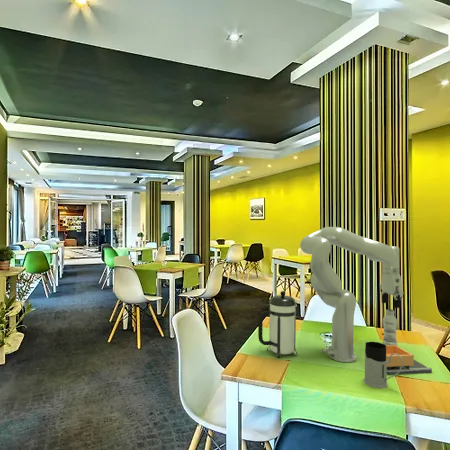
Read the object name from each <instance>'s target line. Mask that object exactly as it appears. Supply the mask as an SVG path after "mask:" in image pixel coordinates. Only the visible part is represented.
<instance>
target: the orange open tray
mask: <svg viewBox="0 0 450 450" xmlns="http://www.w3.org/2000/svg"><path fill="white" fill-rule="evenodd" d="M393 353H396V354H399V355H400V356H401V357H402V361H403V364H402V366H404V367H405V368H409V367H410V366H413V365H414V360H415V359H414V357H415V356H414V354H412V353H410V352H409V351H407V350H405V349H404V348H402V347H400V346H396V345H386V359H387V362H389V361H390V356H391V355H392V354H393ZM396 354H394V355H392V357H391V362H390V363H387V368H388V369H392V366H401V358H400V357H399V356H398V355H396Z"/></svg>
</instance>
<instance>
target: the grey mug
mask: <svg viewBox="0 0 450 450" xmlns="http://www.w3.org/2000/svg"><path fill="white" fill-rule="evenodd" d="M364 349H365V350H364V378H363V383H364V384H365V385H366V386H368V387H371V388H374V389H386V388H388V386H389V384H388V380H389V379H391V378H394V377H395V376H398V375H399V374H398V373H399V372H400V371H401V369H402V364H403V361H402V357H401V356H400V355H399V354H396V353H393V354H392V355H394V354H396V355H398V356H399V357H400V358H401V367H400V370H399V371H398V372H397V373H396V374H395V375H390V376H389V377H387V363H390V362H391V357H392V355H391V356H390V361H389V362H387V359H386V345H384V344H383V342H378V341H366V342H365V348H364Z"/></svg>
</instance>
